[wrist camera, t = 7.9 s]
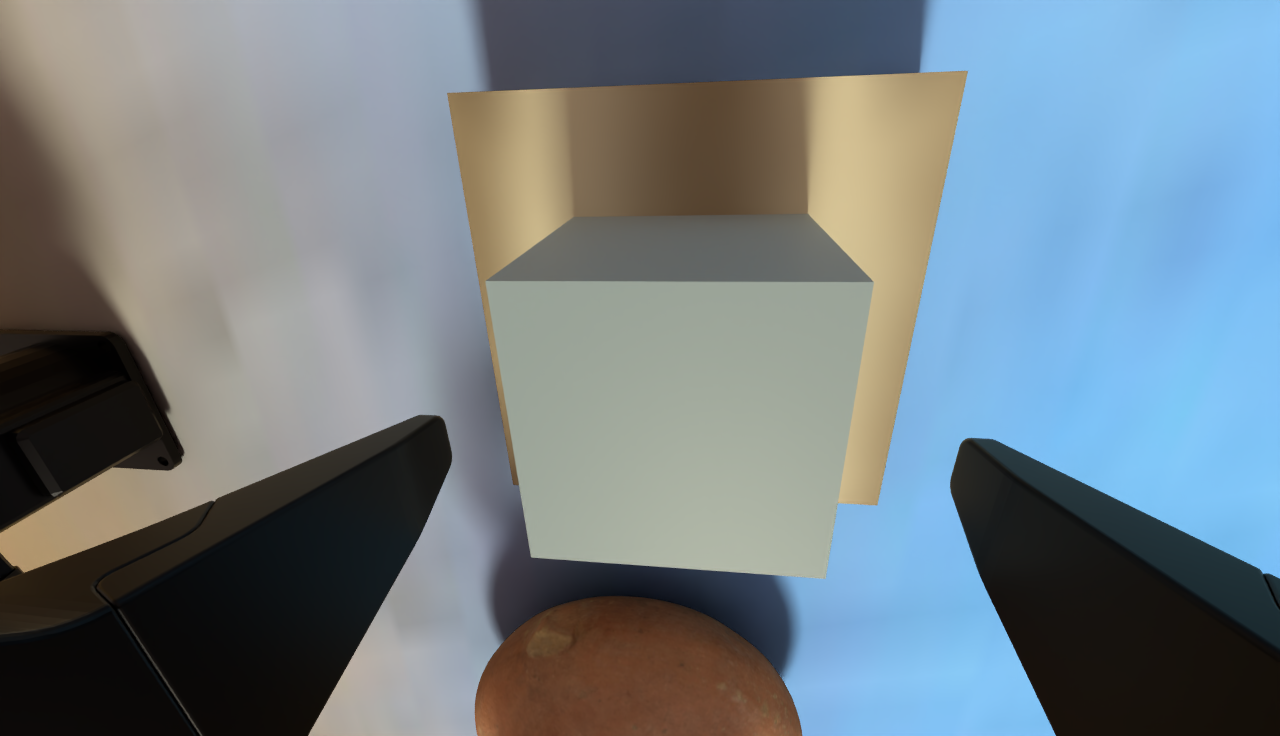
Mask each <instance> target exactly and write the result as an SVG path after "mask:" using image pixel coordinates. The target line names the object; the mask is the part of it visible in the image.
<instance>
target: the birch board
mask: <svg viewBox="0 0 1280 736" xmlns="http://www.w3.org/2000/svg"><path fill="white" fill-rule="evenodd" d="M967 73H968V71H952V72H929V73H906V74H882V75H859V76H836V77H812V78H789V79H766V80H742V81H719V82H696V83H672V84H649V85H626V86H602V87H579V88H556V89H532V90H509V91H486V92H462V93H447V95H448V101H449V107H450V113H451V119H452V125H453V131H454V137H455V143H456V148H457V154H458V160H459V166H460V172H461V178H462V184H463V190H464V196H465V202H466V208H467V214H468V220H469V225H470V231H471V237H472V243H473V249H474V255H475V261H476V267H477V273H478V279H479V285H480V291H481V297H482V303H483V308H484V314H485V320H486V326H487V332H488V338H489V344H490V350H491V356H492V362H493V368H494V374H495V380H496V385H497V391H498V397H499V403H500V409H501V415H502V421H503V427H504V433H505V439H506V445H507V451H508V457H509V463H510V468H511V474H512V480H513V485H519V481H518V475H517V469H516V463H515V457H514V451H513V445H512V439H511V433H510V427H509V421H508V415H507V409H506V403H505V397H504V391H503V385H502V379H501V373H500V367H499V361H498V355H497V349H496V343H495V337H494V331H493V324H492V318H491V312H490V306H489V300H488V294H487V288H486V282H485V281H486V280H487V279H489V278H490V277H492V276H493V275H494V274H496V273H497V272H498V271H500V270H501V269H503V268H504V267H505V266H507V265H508V264H510V263H511V262H512V261H514V260H515V259H516V258H518V257H519V256H521V255H522V254H523V253H525V252H526V251H527V250H529V249H530V248H532V247H533V246H534V245H536V244H537V243H538V242H540V241H541V240H543V239H544V238H545V237H547V236H548V235H550V234H551V233H552V232H554V231H555V230H556V229H558V228H559V227H561V226H562V225H563V224H565V223H566V222H567V221H569V220H570V219H572V218H573V217H608V216H683V215H757V214H809V215H810V217H811V218H812V219H813V220H814V221H815V222H816V223H817V224H818V225H819V226H820V227H821V228H822V229H823V230H824V231H825V232H826V233H827V234H828V235H829V236H830V237H831V238H832V239H833V240H834V241H835V242H836V243H837V244H838V245H839V246H840V248H841V249H842V250H843V251H844V252H845V253H846V254H847V255H848V256H849V257H850V258H851V259H852V260H853V261H854V262H855V263H856V264H857V265H858V266H859V267H860V268H861V269H862V270H863V271H864V272H865V273H866V274H867V275H868V276H869V277H870V278H871V280H872V281H873V282H874V285H873V291H872V297H871V303H870V310H869V316H868V322H867V328H866V334H865V340H864V346H863V352H862V358H861V365H860V371H859V377H858V383H857V389H856V395H855V401H854V407H853V413H852V419H851V426H850V432H849V438H848V444H847V450H846V456H845V462H844V468H843V474H842V481H841V487H840V493H839V499H838V503H846V504H864V505H877V504H878V499H879V494H880V490H881V485H882V480H883V475H884V470H885V466H886V461H887V456H888V451H889V446H890V442H891V437H892V432H893V427H894V422H895V418H896V413H897V408H898V403H899V398H900V394H901V389H902V384H903V379H904V374H905V370H906V365H907V360H908V355H909V351H910V346H911V341H912V336H913V331H914V327H915V322H916V317H917V312H918V307H919V303H920V298H921V293H922V288H923V283H924V279H925V274H926V269H927V264H928V259H929V255H930V250H931V245H932V240H933V236H934V231H935V226H936V221H937V216H938V212H939V207H940V202H941V197H942V192H943V188H944V183H945V178H946V173H947V168H948V164H949V159H950V154H951V149H952V144H953V140H954V135H955V130H956V125H957V121H958V116H959V111H960V106H961V101H962V97H963V92H964V87H965V82H966V77H967Z"/></svg>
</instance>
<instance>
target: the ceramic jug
mask: <svg viewBox="0 0 1280 736" xmlns="http://www.w3.org/2000/svg"><path fill="white" fill-rule="evenodd" d="M475 722H476V730H477V735H478V736H802V730H801V725H800V720H799V717H798V713H797V710H796V707H795V705H794V702H793V699H792V697H791V695H790V693H789V691H788V689H787V687H786V685H785V683H784V682H783V680H782V678H781V677H780V675H779V674H778V673H777V671H776V670H775V668H774V667H773V665H772V664H771V663H770V662H769V661H768V660H767V658H766V657H765V656H764V655H763V654H762V653H761V652H760V651H759V650H758V649H756V648H755V647H754V646H753V645H752V644H751V643H749V642H748V641H747V640H746V639H744V638H743V637H741V636H740V635H739V634H737V633H735V632H734V631H733V630H731V629H730V628H728V627H726V626H725V625H724V624H722V623H720V622H719V621H717V620H715V619H714V618H712V617H710V616H708V615H706V614H703V613H701V612H698V611H696V610H693V609H691V608H688V607H685V606H681V605H678V604H674V603H671V602H666V601H662V600H657V599H651V598H644V597H631V596H601V597H591V598H585V599H580V600H576V601H572V602H568V603H565V604H561V605H558V606H555V607H552V608H550V609H547V610H545V611H543V612H541V613H539V614H537V615H535V616H534V617H532V618H531V619H529V620H528V621H526V622H525V623H524V624H522V625H521V626H520V627H519V628H517V629H516V630H515V631H514V632H513V633H512V634H511V635H510V636H509V637H508V638H507V639H506V640H505V641H504V642H503V643H502V644H501V646H500V647H499V648H498V650H497V651H496V652H495V653H494V655H493V656H492V657H491V659H490V661H489V662H488V664H487V666H486V668H485V670H484V672H483V674H482V676H481V679H480V682H479V685H478V689H477V694H476V700H475Z"/></svg>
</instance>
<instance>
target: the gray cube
mask: <svg viewBox="0 0 1280 736" xmlns="http://www.w3.org/2000/svg"><path fill="white" fill-rule="evenodd" d="M485 282H486V288H487V294H488V300H489V306H490V312H491V318H492V324H493V331H494V337H495V343H496V349H497V355H498V361H499V367H500V373H501V379H502V385H503V391H504V397H505V403H506V409H507V415H508V421H509V427H510V433H511V439H512V445H513V451H514V457H515V463H516V469H517V475H518V481H519V487H520V493H521V500H522V506H523V512H524V518H525V524H526V530H527V536H528V542H529V548H530V554H531V557H532V558H546V559H560V560H573V561H587V562H601V563H615V564H629V565H642V566H656V567H670V568H684V569H698V570H711V571H725V572H739V573H753V574H767V575H780V576H794V577H808V578H822V579H825V578H826V572H827V566H828V560H829V554H830V548H831V542H832V535H833V529H834V523H835V517H836V511H837V505H838V499H839V493H840V487H841V481H842V474H843V468H844V462H845V456H846V450H847V444H848V438H849V432H850V426H851V419H852V413H853V407H854V401H855V395H856V389H857V383H858V377H859V371H860V365H861V358H862V352H863V346H864V340H865V334H866V328H867V322H868V316H869V310H870V303H871V297H872V291H873V285H874V282H873V281H872V280H871V278H870V277H869V276H868V275H867V274H866V273H865V272H864V271H863V270H862V269H861V268H860V267H859V266H858V265H857V264H856V263H855V262H854V261H853V260H852V259H851V258H850V257H849V256H848V255H847V254H846V253H845V252H844V251H843V250H842V249H841V248H840V246H839V245H838V244H837V243H836V242H835V241H834V240H833V239H832V238H831V237H830V236H829V235H828V234H827V233H826V232H825V231H824V230H823V229H822V228H821V227H820V226H819V225H818V224H817V223H816V222H815V221H814V220H813V219H812V218H811V217H810V215H809V214H757V215H683V216H608V217H573V218H572V219H570V220H569V221H567V222H566V223H565V224H563V225H562V226H561V227H559V228H558V229H556V230H555V231H554V232H552V233H551V234H550V235H548V236H547V237H545V238H544V239H543V240H541V241H540V242H538V243H537V244H536V245H534V246H533V247H532V248H530V249H529V250H527V251H526V252H525V253H523V254H522V255H521V256H519V257H518V258H516V259H515V260H514V261H512V262H511V263H510V264H508V265H507V266H505V267H504V268H503V269H501V270H500V271H498V272H497V273H496V274H494V275H493V276H492V277H490V278H489V279H487V280H486V281H485Z"/></svg>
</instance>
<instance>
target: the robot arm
mask: <svg viewBox="0 0 1280 736" xmlns="http://www.w3.org/2000/svg"><path fill="white" fill-rule="evenodd" d="M451 462H452V451H451V447H450V442H449V438H448V434H447V429H446V425H445V422H444V420H443V418H441V417H440V416H436V415H418V416H415V417H413V418H410V419H408V420H406V421H403V422H401V423H398V424H396V425H394V426H391V427H389V428H386V429H384V430H381V431H379V432H377V433H374V434H372V435H369V436H367V437H365V438H362V439H360V440H357V441H355V442H352V443H350V444H348V445H345V446H343V447H340V448H338V449H335V450H333V451H331V452H328V453H326V454H323V455H321V456H319V457H316V458H314V459H311V460H309V461H306V462H304V463H302V464H299V465H297V466H294V467H292V468H290V469H287V470H285V471H282V472H280V473H277V474H275V475H273V476H270V477H268V478H265V479H263V480H261V481H258V482H256V483H253V484H251V485H248V486H246V487H244V488H241V489H239V490H236V491H234V492H231V493H229V494H227V495H224V496H222V497H219V498H217V499H216V501H215V502H214V501H209V502H207V503H205V504H202V505H200V506H197V507H195V508H193V509H190V510H188V511H185V512H183V513H180V514H178V515H175V516H173V517H170V518H168V519H165V520H163V521H160V522H158V523H155V524H153V525H150V526H148V527H145V528H143V529H140V530H138V531H135V532H132V533H130V534H127V535H124V536H122V537H119V538H117V539H114V540H111V541H109V542H106V543H103V544H101V545H98V546H95V547H93V548H90V549H87V550H85V551H82V552H79V553H77V554H74V555H71V556H68V557H66V558H63V559H60V560H58V561H55V562H52V563H50V564H47V565H44V566H41V567H39V568H36V569H33V570H31V571H28V572H25V573H24V572H23V571H22V570H21V569H20V568H19V567H18V566H12V565H11V564H10V563H9V562H8V561H7V560H6V559H5V558H4V556H3V555H2V554H1V553H0V736H308V735H309V733H310V731H311V729H312V727H313V726H314V724H315V722H316V720H317V719H318V717H319V715H320V713H321V712H322V710H323V708H324V706H325V704H326V703H327V701H328V699H329V697H330V696H331V694H332V692H333V690H334V688H335V687H336V685H337V683H338V681H339V680H340V678H341V676H342V674H343V672H344V671H345V669H346V667H347V665H348V664H349V662H350V660H351V658H352V656H353V655H354V653H355V651H356V649H357V648H358V646H359V644H360V642H361V640H362V639H363V637H364V635H365V633H366V632H367V630H368V628H369V626H370V624H371V623H372V621H373V619H374V617H375V616H376V614H377V612H378V610H379V608H380V607H381V605H382V603H383V601H384V600H385V598H386V596H387V594H388V592H389V591H390V589H391V587H392V585H393V584H394V582H395V580H396V578H397V576H398V575H399V573H400V571H401V569H402V568H403V566H404V564H405V562H406V560H407V559H408V557H409V555H410V553H411V552H412V550H413V548H414V546H415V544H416V542H417V541H418V539H419V537H420V535H421V533H422V531H423V528H424V526H425V524H426V522H427V520H428V517H429V515H430V513H431V510H432V508H433V506H434V503H435V501H436V499H437V496H438V494H439V492H440V489H441V487H442V485H443V482H444V480H445V478H446V475H447V473H448V471H449V468H450V466H451ZM181 463H182V458H181V455H180V453H179V451H178V449H177V447H176V445H175V443H174V441H173V439H172V437H171V435H170V433H169V431H168V429H167V427H166V425H165V423H164V421H163V419H162V417H161V415H160V413H159V411H158V409H157V407H156V405H155V403H154V401H153V399H152V397H151V395H150V393H149V391H148V389H147V387H146V384H145V382H144V380H143V378H142V376H141V374H140V372H139V370H138V368H137V366H136V364H135V362H134V360H133V358H132V356H131V354H130V352H129V350H128V348H127V346H126V344H125V342H124V341H123V340H122V338H120V337H119V336H118V335H116V334H115V333H112V332H94V331H44V330H0V533H1V532H3V531H4V530H6V529H8V528H9V527H11V526H13V525H15V524H16V523H18V522H20V521H21V520H23V519H25V518H27V517H28V516H30V515H32V514H33V513H35V512H37V511H39V510H40V509H42V508H44V507H45V506H47V505H49V504H51V503H52V502H54V501H56V500H57V499H59V498H61V497H62V496H64V495H66V494H68V493H69V492H71V491H73V490H74V489H76V488H78V487H80V486H81V485H83V484H85V483H86V482H88V481H90V480H92V479H93V478H95V477H97V476H98V475H100V474H102V473H104V472H105V471H107V470H109V469H110V468H112V467H116V468H133V469H150V470H172V469H174V468H175V467H177V466H178V465H180V464H181ZM950 489H951V494H952V497H953V500H954V503H955V506H956V509H957V512H958V515H959V518H960V520H961V523H962V526H963V529H964V532H965V535H966V538H967V541H968V544H969V547H970V550H971V552H972V555H973V558H974V561H975V564H976V567H977V569H978V572H979V574H980V577H981V579H982V581H983V584H984V586H985V588H986V590H987V592H988V595H989V597H990V599H991V601H992V603H993V605H994V607H995V609H996V611H997V613H998V615H999V618H1000V620H1001V622H1002V624H1003V626H1004V628H1005V630H1006V632H1007V634H1008V636H1009V638H1010V640H1011V643H1012V645H1013V647H1014V649H1015V651H1016V653H1017V655H1018V657H1019V659H1020V661H1021V663H1022V666H1023V668H1024V670H1025V672H1026V674H1027V676H1028V678H1029V680H1030V682H1031V684H1032V686H1033V689H1034V691H1035V693H1036V695H1037V697H1038V699H1039V701H1040V703H1041V705H1042V707H1043V709H1044V712H1045V714H1046V716H1047V718H1048V720H1049V722H1050V724H1051V726H1052V728H1053V730H1054V732H1055V735H1056V736H1280V579H1279V578H1277V577H1275V576H1273V575H1271V574H1268V573H1266V574H1263V573H1262V571H1261V570H1260V569H1258V568H1256V567H1254V566H1252V565H1250V564H1248V563H1246V562H1244V561H1242V560H1240V559H1238V558H1236V557H1234V556H1232V555H1230V554H1228V553H1226V552H1224V551H1222V550H1220V549H1217V548H1215V547H1213V546H1211V545H1209V544H1207V543H1205V542H1203V541H1201V540H1199V539H1197V538H1195V537H1193V536H1191V535H1189V534H1187V533H1185V532H1183V531H1181V530H1178V529H1176V528H1174V527H1172V526H1170V525H1168V524H1166V523H1164V522H1162V521H1160V520H1158V519H1156V518H1154V517H1152V516H1150V515H1148V514H1146V513H1144V512H1142V511H1139V510H1137V509H1135V508H1133V507H1131V506H1129V505H1127V504H1125V503H1123V502H1121V501H1119V500H1117V499H1115V498H1113V497H1111V496H1109V495H1107V494H1105V493H1103V492H1100V491H1098V490H1096V489H1094V488H1092V487H1090V486H1088V485H1086V484H1084V483H1082V482H1080V481H1078V480H1076V479H1074V478H1072V477H1070V476H1068V475H1066V474H1064V473H1061V472H1059V471H1057V470H1055V469H1053V468H1051V467H1049V466H1047V465H1045V464H1043V463H1041V462H1039V461H1037V460H1035V459H1033V458H1031V457H1029V456H1027V455H1025V454H1022V453H1020V452H1018V451H1016V450H1014V449H1012V448H1010V447H1008V446H1006V445H1004V444H1002V443H1000V442H998V441H996V440H993V439H981V438H967V439H965V440H964V441H963V442H962V443H961V445H960V447H959V451H958V454H957V458H956V462H955V465H954V469H953V472H952V476H951V480H950Z"/></svg>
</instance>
